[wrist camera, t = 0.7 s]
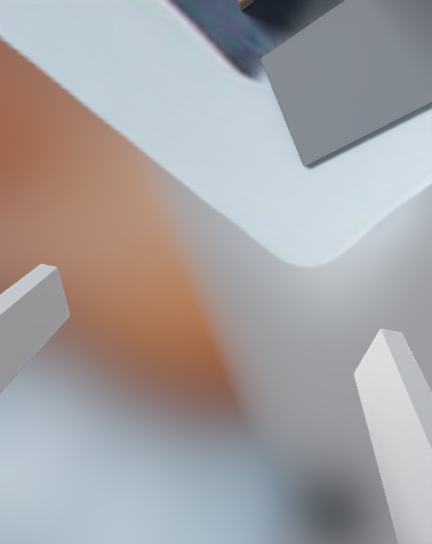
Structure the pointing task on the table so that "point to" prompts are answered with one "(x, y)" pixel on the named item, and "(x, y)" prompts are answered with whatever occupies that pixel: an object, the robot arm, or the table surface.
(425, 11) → the mat
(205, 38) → the table surface
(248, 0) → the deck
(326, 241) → the table surface
